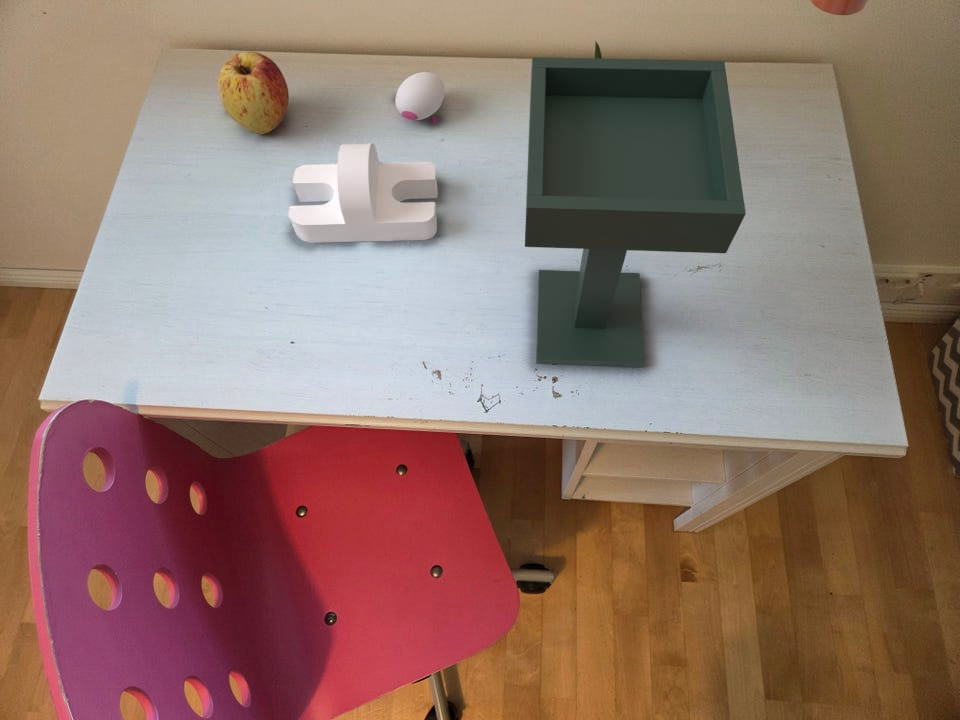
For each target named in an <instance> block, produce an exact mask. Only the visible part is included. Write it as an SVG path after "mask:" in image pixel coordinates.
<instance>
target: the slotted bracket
mask: <svg viewBox="0 0 960 720" xmlns="http://www.w3.org/2000/svg"><path fill="white" fill-rule="evenodd" d="M292 185H293V189H294V190H295V193H296V196H297V199H298V201H299V203H310V202H311V203H315V202H326V203H323V204H314V205H311V204H309V205H289V207H288V213H287V216H288V219H289V220H290V223H291V225H292V227H293V230H294V232H295V234H296V236H297V238H299V239H300V240H301V241H303V242H306V243H311V244H318V243H319V244H320V243H354V242H355V243H357V242H359V243H360V242H392V241H393V242H395V241H426V240H427V241H428V240H430V239H432V238H433V237H435V235H436V234H437V231H438V217H437V209H436V203H435V201H422V202H421V201H419V202H417V201H416V202H403V201H406V200H418V199H422V200H423V199H439V197H438V195H439V193H438V192H439V191H438V189H439V188H438V179H437V170H436V166H435V164H434V163H432V162H430V161H425V160H424V161H423V160H422V161H421V160H419V161H390V162H380V160H379V155H378V151H377V147H376V145H375V144H374V143H373V142H372V143H369V142H368V143H343V144H340V146H339V149H338V153H337V162H336V163H322V164H318V163H316V164H303V165H300V166H298V167H296V168H295V169H294V171H293V177H292Z"/></svg>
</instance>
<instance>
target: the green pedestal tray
mask: <svg viewBox="0 0 960 720" xmlns="http://www.w3.org/2000/svg"><path fill="white" fill-rule="evenodd" d="M529 93H530V97H529V119H528V120H529V121H528V147H527V169H526V171H527V172H526V176H527V177H526V198H525V199H526V200H525V224H524V225H525V227H524V248H543V249H544V248H546V249H547V248H548V249H575V250H577V249H578V250H582V253H581V254H582V255H581V259H580V265H579V270H555V269H554V270H553V269H539V270H538V274H537V275H538V277H537V311H536V312H537V316H536V348H535V349H536V353H535V354H536V355H535V364H545V365H546V364H548V365H569V366H570V365H571V366H572V365H573V366H593V367H594V366H595V367H596V366H597V367H622V368H644V367H643V366H644V365H645V355H644V354H645V353H644V333H643V332H644V331H643V315H642V314H643V313H642V296H641V293H642V292H641V276H640V275H641V274H640V273H639V272H622V271H623V267H624V263H625V260H626V255H627V253H628V251H637V252H639V251H641V252H667V253H669V252H670V253H695V254H697V253H698V254H727V253H728V250H729V249H730V246H731V244H732V242H733V241H734V239H735V237H736V234H737V233H738V231H739V229H740V227H741V224H742V223H743V220H744V219H745V217H746V214H747V213H746V205H745V199H744V191H743V184H742V177H741V170H740V163H739V155H738V147H737V142H736V135H735V127H734V126H735V125H734V121H733V113H732V105H731V98H730V92H729V85H728V77H727V71H726V62H725V60H710V59H709V60H708V59H707V60H706V59H704V60H703V59H701V60H700V59H657V58H656V59H654V58H653V59H651V58H595V57H594V58H592V57H549V56H547V57H544V56H543V57H542V56H540V57H539V56H533V57H532V58H531V75H530V92H529Z"/></svg>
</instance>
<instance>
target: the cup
mask: <svg viewBox="0 0 960 720" xmlns="http://www.w3.org/2000/svg"><path fill="white" fill-rule="evenodd" d="M809 1H810V3H811V4H812V5H813V6H815V7H816V8H817V9H819V10H821V11H822V12H825V13H827V14H831V15H834V16H835V15H836V16H851V15H856V14H858V13H860V12H861V11H863V10H864V9H865V8H866V6H867V5H868V3H869V1H870V0H809Z"/></svg>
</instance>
